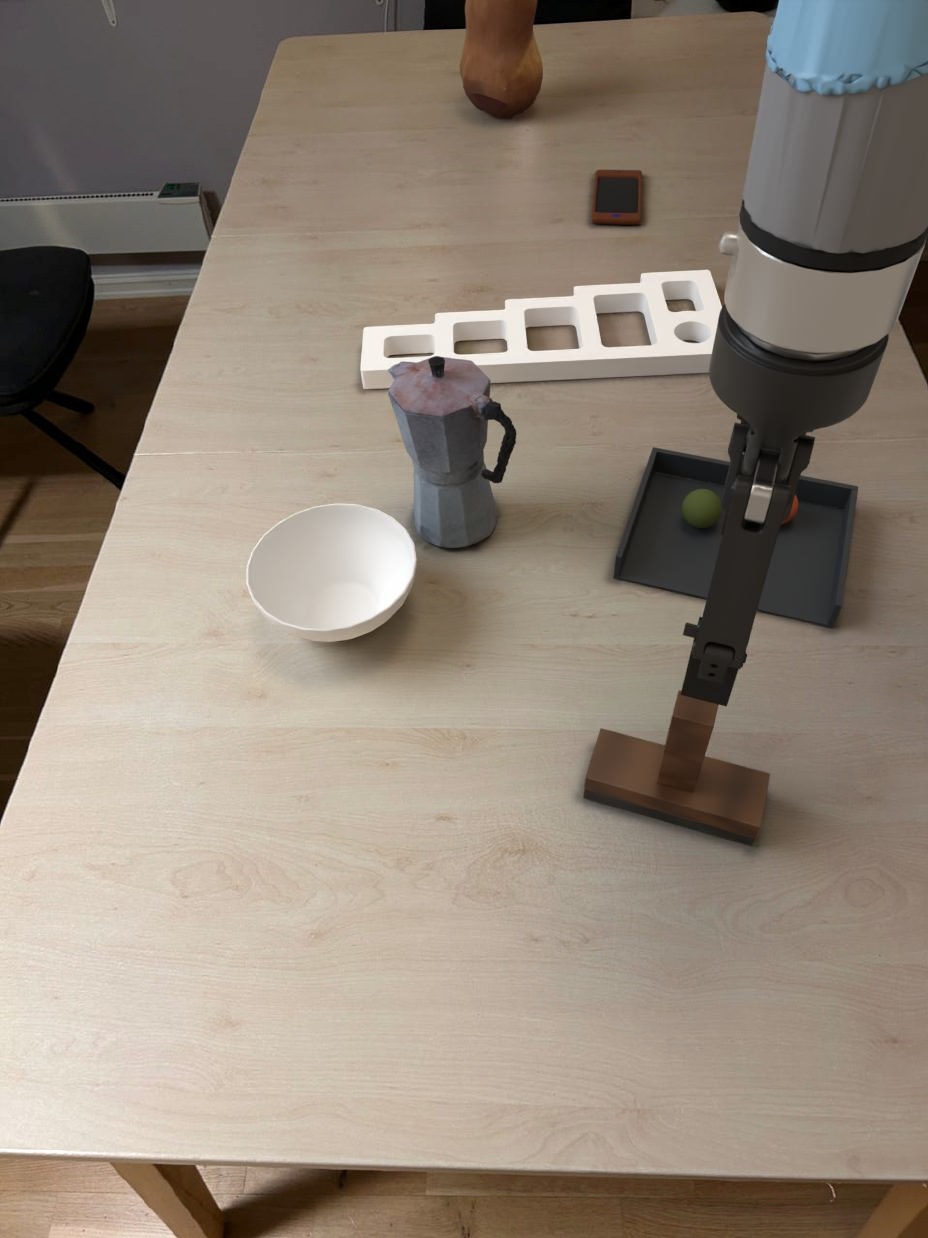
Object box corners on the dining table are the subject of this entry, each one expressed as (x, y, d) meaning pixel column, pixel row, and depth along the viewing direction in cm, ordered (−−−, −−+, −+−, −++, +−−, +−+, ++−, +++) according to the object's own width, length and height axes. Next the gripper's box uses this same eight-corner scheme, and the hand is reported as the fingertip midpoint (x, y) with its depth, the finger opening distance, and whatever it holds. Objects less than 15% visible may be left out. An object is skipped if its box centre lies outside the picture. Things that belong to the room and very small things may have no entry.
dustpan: (832, 628, 88) (842, 606, 86) (613, 578, 93) (615, 556, 91) (858, 446, 104) (867, 423, 101) (668, 412, 109) (672, 389, 106)
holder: (362, 389, 114) (360, 370, 112) (369, 305, 125) (366, 286, 123) (733, 371, 113) (737, 352, 111) (706, 288, 124) (709, 269, 122)
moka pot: (428, 469, 105) (412, 312, 89) (545, 522, 99) (550, 364, 83) (375, 520, 100) (348, 364, 84) (494, 579, 94) (489, 423, 78)
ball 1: (729, 493, 96) (723, 493, 93) (719, 531, 97) (712, 532, 93) (691, 485, 98) (683, 484, 94) (681, 522, 99) (673, 523, 95)
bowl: (441, 651, 89) (436, 604, 83) (275, 695, 86) (259, 650, 81) (400, 535, 98) (393, 487, 93) (250, 572, 96) (234, 524, 91)
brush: (761, 794, 78) (799, 705, 67) (752, 847, 75) (790, 763, 64) (597, 748, 81) (609, 657, 71) (582, 798, 78) (593, 710, 68)
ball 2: (794, 522, 97) (802, 485, 96) (793, 532, 94) (801, 493, 92) (754, 516, 98) (762, 479, 97) (752, 525, 95) (760, 487, 93)
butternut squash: (548, 97, 162) (552, -76, 143) (534, 132, 154) (536, -46, 135) (470, 93, 165) (464, -77, 145) (453, 127, 157) (444, -48, 137)
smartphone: (591, 218, 134) (595, 168, 144) (591, 224, 135) (595, 174, 144) (641, 219, 134) (642, 168, 143) (640, 225, 134) (641, 174, 144)
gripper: (762, 174, 50) (701, 468, 67) (665, 480, 36) (619, 758, 52) (909, 191, 48) (809, 489, 65) (869, 521, 34) (754, 796, 51)
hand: (724, 610), depth 59 cm, fingers open, 13 cm apart
